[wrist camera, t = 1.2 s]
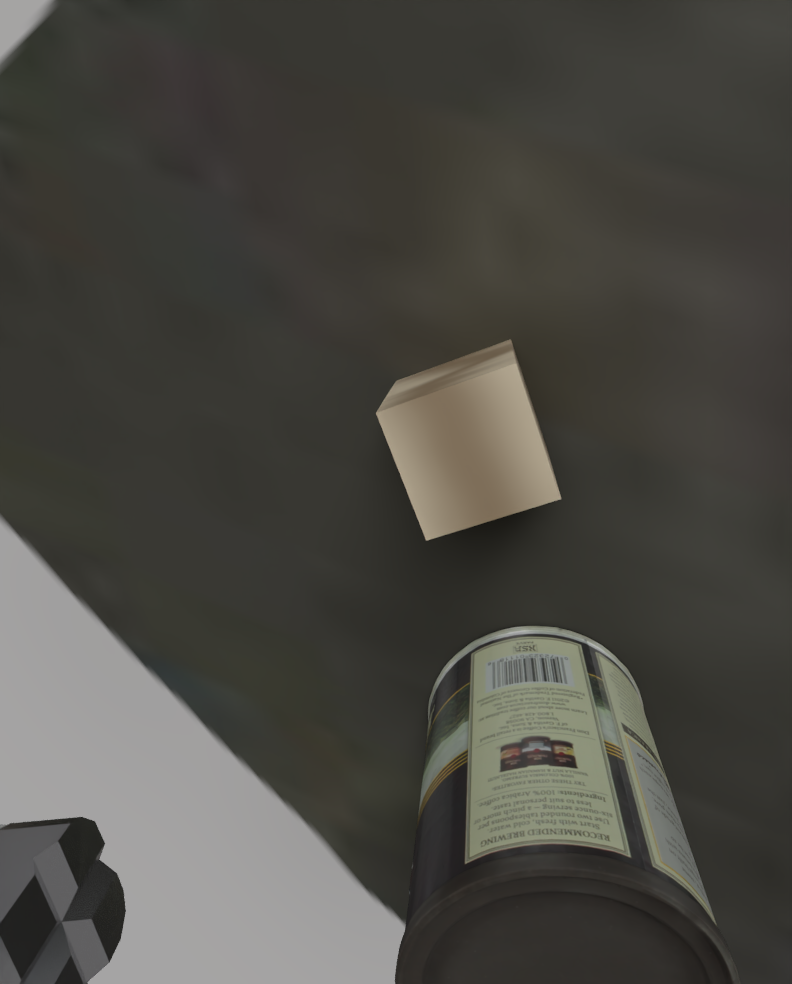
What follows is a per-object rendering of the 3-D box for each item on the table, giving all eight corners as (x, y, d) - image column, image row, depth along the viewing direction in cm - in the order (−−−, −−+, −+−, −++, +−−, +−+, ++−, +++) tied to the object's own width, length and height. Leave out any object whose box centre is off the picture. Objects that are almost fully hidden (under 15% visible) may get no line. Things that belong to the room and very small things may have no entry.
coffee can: (500, 834, 38) (507, 1154, 25) (387, 684, 36) (329, 947, 23) (686, 753, 35) (806, 1064, 22) (575, 584, 33) (634, 818, 20)
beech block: (510, 339, 30) (516, 363, 24) (548, 451, 31) (561, 498, 26) (396, 380, 31) (375, 412, 25) (436, 487, 32) (426, 540, 27)
